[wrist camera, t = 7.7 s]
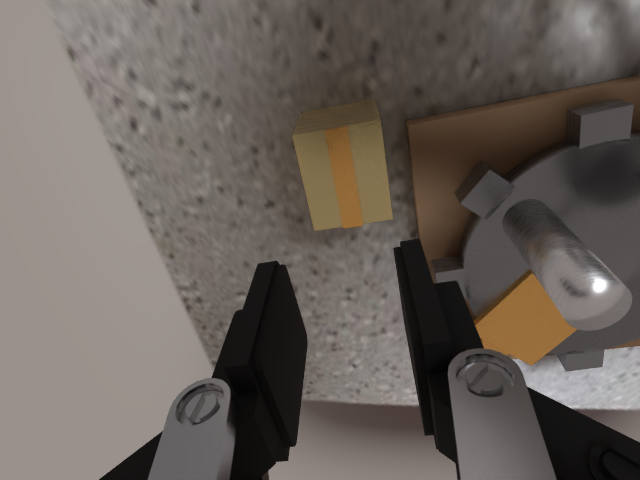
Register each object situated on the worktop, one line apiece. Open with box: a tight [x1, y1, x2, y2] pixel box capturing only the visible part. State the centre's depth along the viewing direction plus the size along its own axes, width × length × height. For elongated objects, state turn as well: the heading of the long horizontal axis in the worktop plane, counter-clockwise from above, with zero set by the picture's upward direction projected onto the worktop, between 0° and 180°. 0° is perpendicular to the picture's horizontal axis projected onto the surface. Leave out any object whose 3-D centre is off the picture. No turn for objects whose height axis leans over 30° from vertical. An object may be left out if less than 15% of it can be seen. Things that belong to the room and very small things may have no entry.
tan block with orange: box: [292, 98, 393, 231], centre depth 21 cm, size 5×4×5 cm
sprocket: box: [431, 98, 640, 371], centre depth 20 cm, size 17×17×8 cm
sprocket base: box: [406, 75, 640, 359], centre depth 25 cm, size 18×18×1 cm
